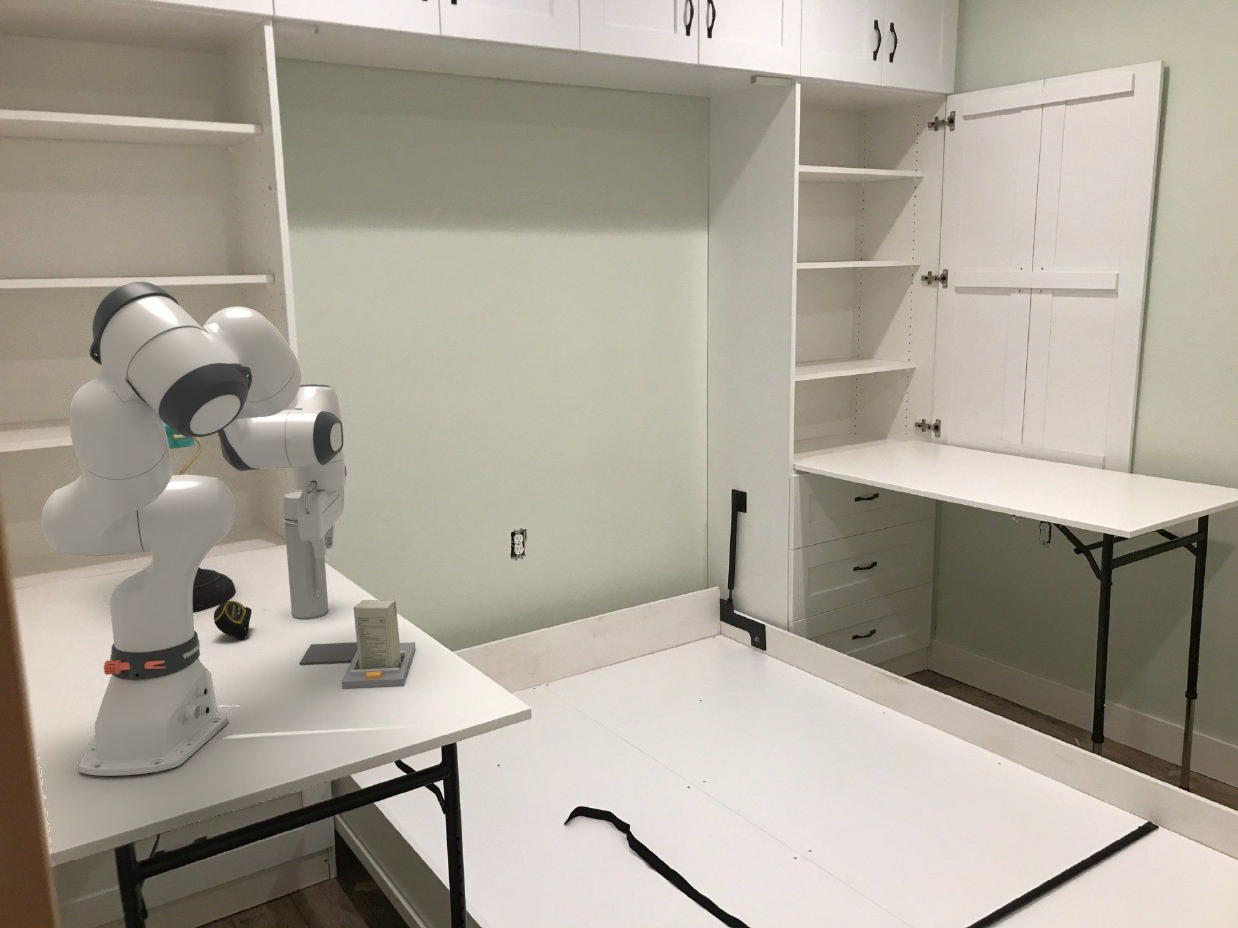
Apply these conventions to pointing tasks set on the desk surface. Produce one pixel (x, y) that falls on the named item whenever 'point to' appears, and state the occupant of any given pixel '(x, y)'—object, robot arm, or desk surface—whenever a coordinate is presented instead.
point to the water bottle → (303, 567)
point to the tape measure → (233, 619)
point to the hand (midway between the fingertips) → (324, 552)
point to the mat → (329, 653)
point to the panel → (379, 672)
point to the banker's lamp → (207, 583)
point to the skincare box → (377, 634)
